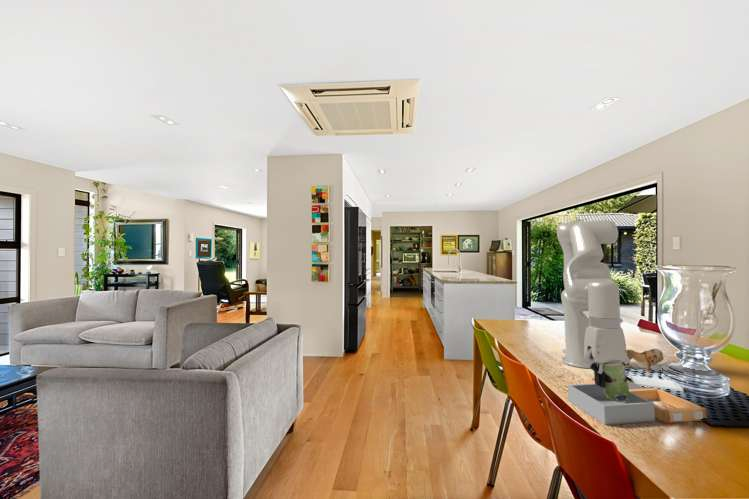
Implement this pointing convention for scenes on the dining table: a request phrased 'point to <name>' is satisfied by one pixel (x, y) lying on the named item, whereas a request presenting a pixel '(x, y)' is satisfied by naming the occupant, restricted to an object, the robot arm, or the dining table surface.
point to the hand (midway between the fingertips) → (607, 384)
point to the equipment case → (682, 407)
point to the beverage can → (616, 382)
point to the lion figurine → (646, 357)
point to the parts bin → (610, 405)
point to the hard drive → (656, 383)
